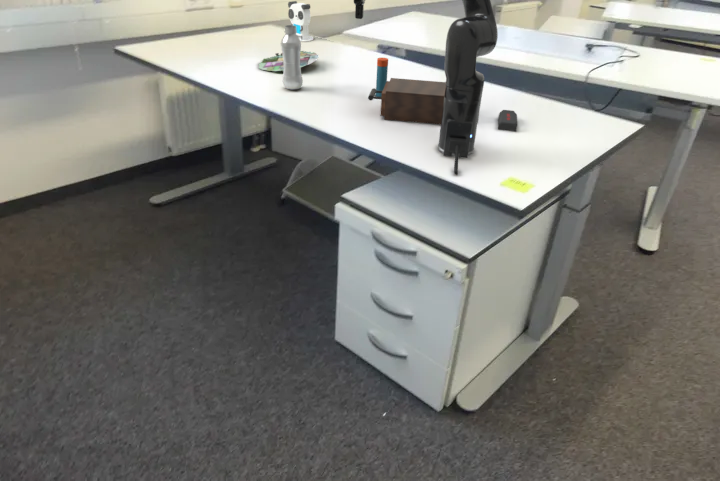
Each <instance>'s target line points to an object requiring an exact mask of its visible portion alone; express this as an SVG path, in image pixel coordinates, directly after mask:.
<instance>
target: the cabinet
mask: <svg viewBox="0 0 720 481" xmlns="http://www.w3.org/2000/svg"><path fill="white" fill-rule="evenodd" d="M389 81H390V82H389V84H388V87H387V89H386V95H385V112H384V116H383V120H384V121H395V122H406V123H418V124H428V125H439V126H441V119H442V111H443V102H444V95H445V86H446V81H436V80H423V79H409V78H399V77H398V78H397V77H390V79H389Z"/></svg>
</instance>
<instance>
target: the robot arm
mask: <svg viewBox="0 0 720 481" xmlns="http://www.w3.org/2000/svg"><path fill="white" fill-rule="evenodd" d="M365 3H366V0H353V4H354V6H355V8H354V9H355V10H354V12H355V15H354V18H355V19H357V20H362V19H363V18H364V10H365V6H364V5H365ZM462 5H463V10H464V17H460V18H457V19H456V20H454V21H453V22H452V23H451V24H450V26H449V28H448V31H447V34H446V39H445V50H444V52H445V53H444V65H443V66H444V67H443V68H444V70H443V71H444V75H445V82H446V86H445V95H444V102H443V111H442V119H441V125H440V128H439V138H438V144H437V151H439V153H441V154H442V155H443V156H444V157H453V158H454V165H453V174H454V175H458V173H459V169H458V168H459V159H460V158H463V159H468V157H470V156H472V155H473V154H474V151H475V142H476V135H477V129H478V123H479V116H480V110H481V104H482V97H483V91H484V85H485V76H484V74H483V73H482V72H480V71H477V58H479V57H482V56H486V55H489V54H490V53H492V52H493V50H494V49H495V48H496V47H497V42H498V36H499V32H498V25H497V20H496V16H495V13H494V8H493V5H492V2H491V0H462Z"/></svg>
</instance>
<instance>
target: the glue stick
mask: <svg viewBox="0 0 720 481" xmlns="http://www.w3.org/2000/svg"><path fill="white" fill-rule="evenodd" d="M388 68H389V58H387V57H378V58H377V60H376V83H375V89H376V90H378V91H383V89H384V86H385V84H386V82H387V81H388V70H389V69H388ZM381 96H382V93H376V94H375V97H381Z"/></svg>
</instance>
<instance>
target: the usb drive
mask: <svg viewBox="0 0 720 481" xmlns="http://www.w3.org/2000/svg"><path fill="white" fill-rule="evenodd" d="M497 120H498V121H497V130H499V131H508V132H517V129H518V114H517V113H516V112H515V111H514V110H510V109H502V110H501V111H500V112H499V113H498V118H497Z"/></svg>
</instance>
